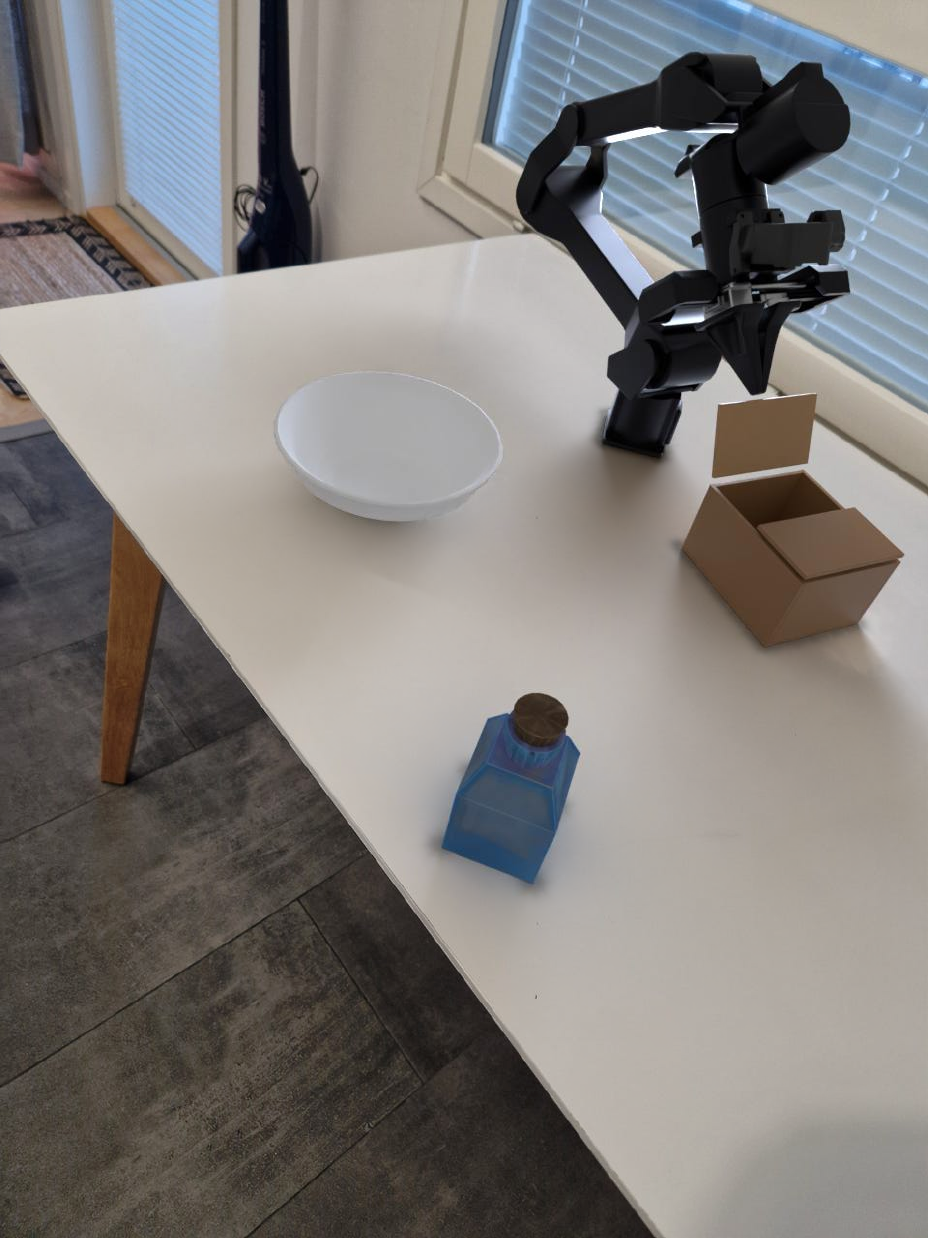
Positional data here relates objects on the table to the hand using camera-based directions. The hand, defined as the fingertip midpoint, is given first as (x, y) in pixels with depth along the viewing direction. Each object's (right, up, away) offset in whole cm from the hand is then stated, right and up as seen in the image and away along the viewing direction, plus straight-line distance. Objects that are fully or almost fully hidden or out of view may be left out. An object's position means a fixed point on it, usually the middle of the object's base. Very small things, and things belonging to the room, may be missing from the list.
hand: (758, 394), depth 75 cm
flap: (+1, -3, 0) cm, 4 cm away
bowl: (-33, -8, +4) cm, 34 cm away
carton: (+2, -16, +4) cm, 17 cm away
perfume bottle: (-23, -33, -18) cm, 44 cm away
